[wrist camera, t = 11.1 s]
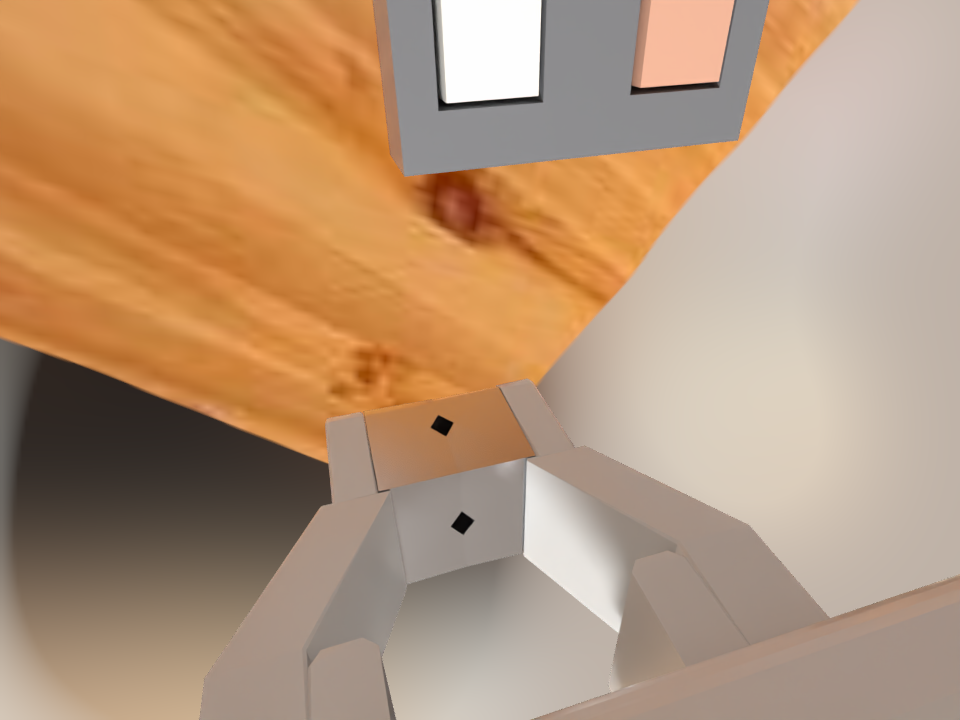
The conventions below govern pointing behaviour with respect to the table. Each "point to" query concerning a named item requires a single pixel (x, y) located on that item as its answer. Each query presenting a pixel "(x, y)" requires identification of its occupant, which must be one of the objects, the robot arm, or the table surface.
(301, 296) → the table surface
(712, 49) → the terracotta key
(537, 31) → the white key
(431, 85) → the console
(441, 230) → the table surface
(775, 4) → the table surface
